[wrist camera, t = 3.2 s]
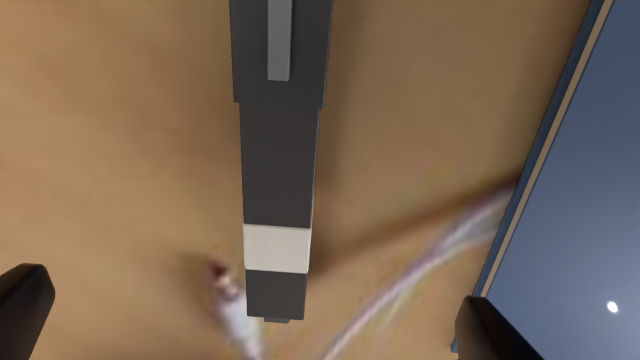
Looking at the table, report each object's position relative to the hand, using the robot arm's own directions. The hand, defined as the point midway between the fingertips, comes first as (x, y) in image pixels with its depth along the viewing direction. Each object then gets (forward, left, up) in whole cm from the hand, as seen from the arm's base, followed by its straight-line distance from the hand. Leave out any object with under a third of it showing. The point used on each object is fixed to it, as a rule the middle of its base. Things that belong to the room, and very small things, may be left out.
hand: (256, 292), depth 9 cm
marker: (0, 0, -6) cm, 6 cm away
